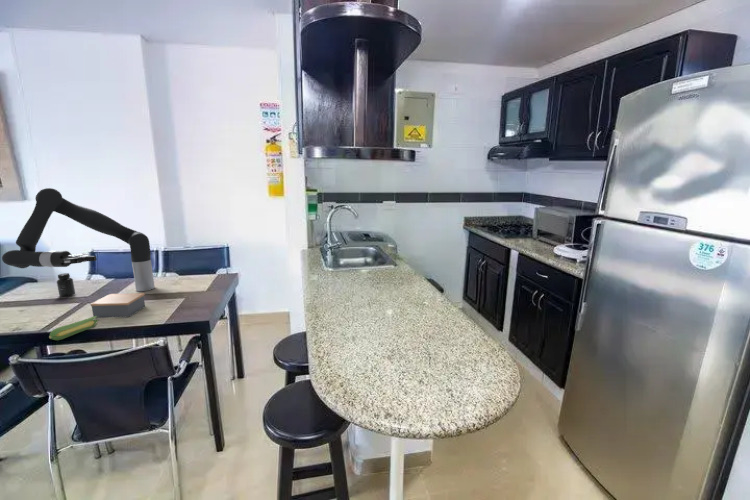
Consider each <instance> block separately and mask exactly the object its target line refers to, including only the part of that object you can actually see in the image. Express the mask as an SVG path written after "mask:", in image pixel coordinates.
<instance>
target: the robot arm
mask: <svg viewBox="0 0 750 500" xmlns="http://www.w3.org/2000/svg"><path fill="white" fill-rule="evenodd" d="M54 212H55V213H56V214H60V215H63V216H65V217H67V218H69V219H71V220H73V221H75V222H77V223H79V224H81V225H83V226H85V227H86V228H90V229H91V230H94V231H95V232H98V233H100V234H104V235H107V236H110V237H111V236H112V237H114V238H117V239H119V240H121V241H123V242H124V243H126V244H128V245H129V249H130V255H131V256H130V260H131V266H132V272H133V279H134V284H135V291H136V292H147V291H151V289H152V290H153V289H155V287H156V286H155V279H154V273H153V266H152V258H151V257H152V256H151V255H152V253H151V252H152V251H151V246H150V245H151V244H150V240H149V237H148V236H147V235H146V234H144V233H143V232H140V231H137V230H134V229H133V228H129V227H127V226H124V225H123V224H121V223H119V222H118V221H116V220H114V219H112V218H111V217H109V216H107V215H105V214H103V213H101V212H99V211H97V210H95V209H91V208H88V207H85V206H82V205H78V204H75V203H73V202H71V201H70V200H67V199H65V198H64V197H63V195H62V194H61V192H60V191H59V190H57V189H55V188H52V187H51V188H50V187H48V188H47V187H45V188H43V189H40V190H39V191H38V192H37V194H36V195H35V206H34V208H33V211H32V213H31V215H30V216H29V218H28V220H26V223H25V224H24V225H23V228H22V229H21V231H20V233H19V235H18V237H17V238H16V241H15V244H16V246H18V247H19V248H20V249H13V250H9V251H6V252H5V253H4V254H2V257H1V260H2V262H3V263H4V264H5V265H7V266H11V267H14V268H18V269H27V268H28V267H30V266H31V267H37V268H43V267H46V268H66V267H69V266H71V265H73V264H82V263H85V262H95V261H97V255H90V254H88V253H84V252H83V253H82V254H81V253H79V254H78V253H71V252H70V251H69V250H49V251H48V250H47V251H36V247H37V244H38V243H39V241H40V239H41V237H42V235H43V232H44V230H45V228H46V225H47V223H48V222H49V219H50V218H51V216H52V214H53V213H54Z"/></svg>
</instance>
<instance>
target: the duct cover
mask: <svg viewBox="0 0 750 500" xmlns="http://www.w3.org/2000/svg"><path fill="white" fill-rule="evenodd" d="M145 295H146V294H145V293H144V292H142V293H141V292H137V293H136V292H132V293H129V292H128V293H109V294H107V295H105V296H104V297H102V298H99V299H97V300H95V301H93V302H91V303H90V306H91V307H92V306H110V305H129V304H131V303H132V302H134V301H136V300H137V299H139V298H141V297H142V296H144V297H145Z"/></svg>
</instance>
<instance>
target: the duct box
mask: <svg viewBox="0 0 750 500" xmlns="http://www.w3.org/2000/svg"><path fill="white" fill-rule="evenodd" d="M144 308H146V303H145V295H144V296H142V297H141V298H139V299H137V300H136V301H134V302H132V303H131V304H129V305H110V306H91V309H92V310H91V311H92V315H93V316H92V317H94V316H97V317H96V318H95V319H97V318H98V319H101V318H102V319H104V318H105V319H106V318H107V319H108V318H130V317H132V316H133V315H135V314H136V313H138V312H139V311H141V310H142V309H144Z"/></svg>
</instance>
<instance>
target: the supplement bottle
mask: <svg viewBox="0 0 750 500" xmlns="http://www.w3.org/2000/svg"><path fill="white" fill-rule="evenodd" d="M70 275H71V274H70V273H69V272H68V273H67V272H65V273H60V274H57V281H56V286H57V291H58V296H59V297H61V298H65V297H66V298H67V297H72V296H74V295H75V294H76V289H75V285H74V283H75V282H74V279H73V278H72V277H71V276H70Z"/></svg>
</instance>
